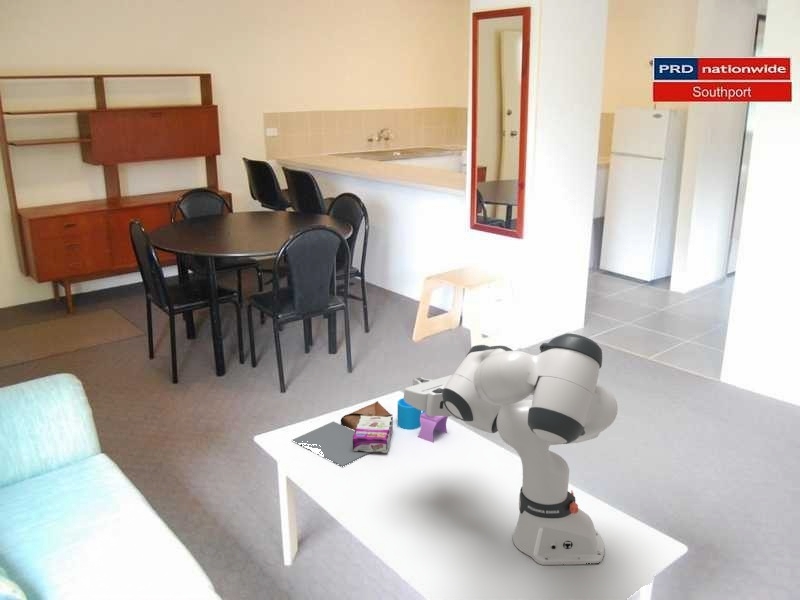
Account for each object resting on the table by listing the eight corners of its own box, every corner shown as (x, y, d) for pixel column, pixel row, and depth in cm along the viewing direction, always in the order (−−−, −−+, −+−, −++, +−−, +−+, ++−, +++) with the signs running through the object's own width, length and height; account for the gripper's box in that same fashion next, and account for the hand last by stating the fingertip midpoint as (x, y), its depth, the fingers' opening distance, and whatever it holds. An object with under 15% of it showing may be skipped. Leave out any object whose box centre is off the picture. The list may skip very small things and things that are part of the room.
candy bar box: (387, 454, 219) (393, 429, 235) (387, 440, 218) (393, 415, 233) (352, 452, 220) (360, 427, 236) (351, 438, 219) (360, 414, 234)
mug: (408, 432, 234) (408, 409, 232) (392, 423, 240) (392, 401, 238) (434, 421, 242) (434, 399, 240) (418, 413, 248) (418, 392, 245)
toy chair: (450, 433, 233) (451, 392, 229) (435, 443, 227) (436, 401, 222) (430, 426, 238) (430, 385, 234) (414, 436, 231) (415, 394, 227)
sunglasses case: (357, 432, 234) (350, 413, 234) (345, 436, 239) (338, 417, 239) (394, 414, 246) (387, 396, 247) (381, 418, 251) (374, 401, 252)
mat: (383, 446, 225) (383, 444, 225) (342, 467, 212) (342, 465, 212) (333, 422, 240) (333, 421, 240) (292, 441, 228) (291, 439, 228)
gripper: (480, 379, 191) (443, 363, 200) (428, 395, 177) (391, 377, 186) (477, 401, 193) (440, 383, 202) (425, 418, 179) (388, 399, 188)
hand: (416, 380), depth 194 cm, fingers closed
